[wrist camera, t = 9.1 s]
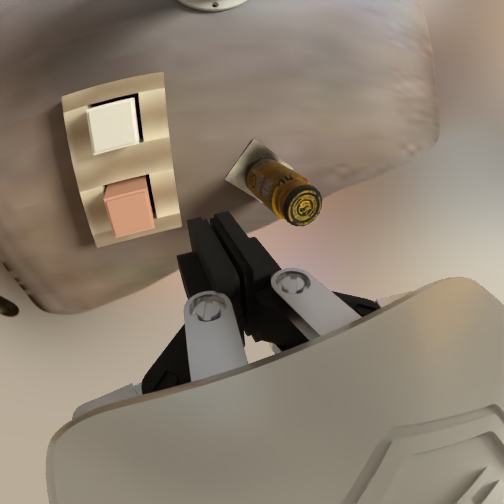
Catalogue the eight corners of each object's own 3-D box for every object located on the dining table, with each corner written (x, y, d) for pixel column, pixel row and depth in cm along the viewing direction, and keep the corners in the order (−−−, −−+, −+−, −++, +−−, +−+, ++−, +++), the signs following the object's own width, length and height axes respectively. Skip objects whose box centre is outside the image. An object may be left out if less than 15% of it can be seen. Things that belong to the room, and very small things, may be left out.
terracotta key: (108, 182, 31) (103, 200, 26) (145, 173, 32) (146, 188, 27) (116, 216, 33) (114, 239, 29) (151, 208, 35) (155, 229, 30)
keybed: (69, 96, 24) (61, 96, 21) (160, 74, 27) (163, 71, 24) (99, 233, 35) (97, 248, 32) (177, 214, 39) (182, 226, 36)
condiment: (265, 204, 44) (305, 241, 34) (224, 179, 39) (257, 212, 29) (292, 168, 42) (339, 195, 33) (253, 138, 37) (297, 157, 28)
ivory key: (95, 107, 25) (85, 109, 20) (134, 97, 26) (133, 97, 22) (100, 145, 28) (93, 156, 23) (139, 136, 29) (139, 144, 24)
